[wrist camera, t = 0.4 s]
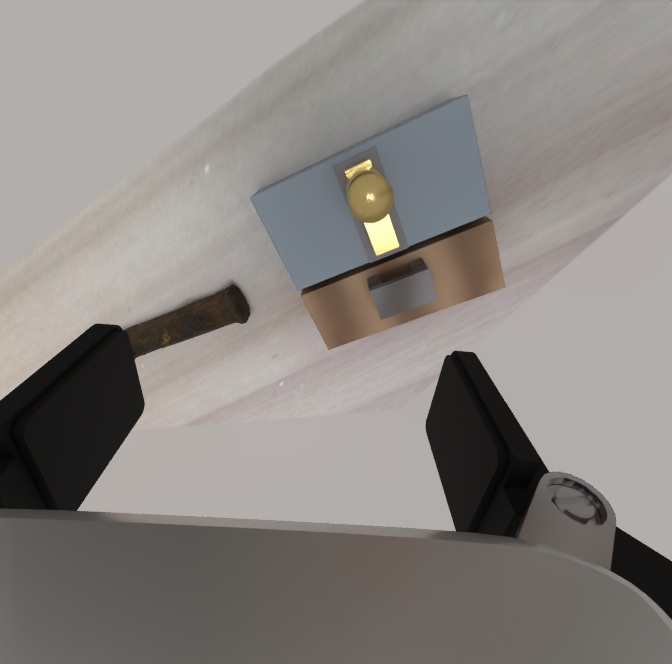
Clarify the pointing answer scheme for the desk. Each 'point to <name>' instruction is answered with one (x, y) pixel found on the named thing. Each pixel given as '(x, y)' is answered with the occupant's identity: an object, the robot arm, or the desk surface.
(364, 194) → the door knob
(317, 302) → the door jamb
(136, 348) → the hand tool
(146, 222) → the desk surface
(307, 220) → the door leaf
